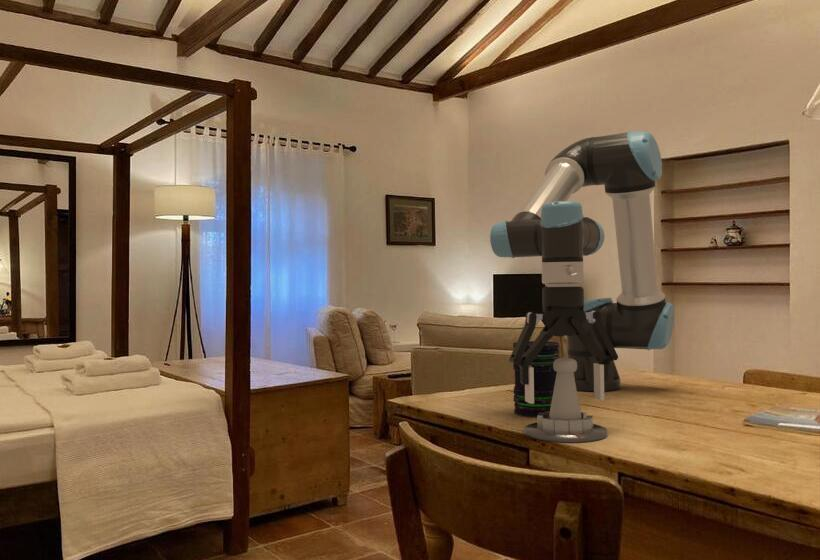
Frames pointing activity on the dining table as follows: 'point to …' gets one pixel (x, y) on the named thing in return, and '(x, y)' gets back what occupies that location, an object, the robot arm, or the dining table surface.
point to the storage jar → (537, 381)
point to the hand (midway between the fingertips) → (564, 400)
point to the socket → (565, 429)
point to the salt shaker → (565, 391)
